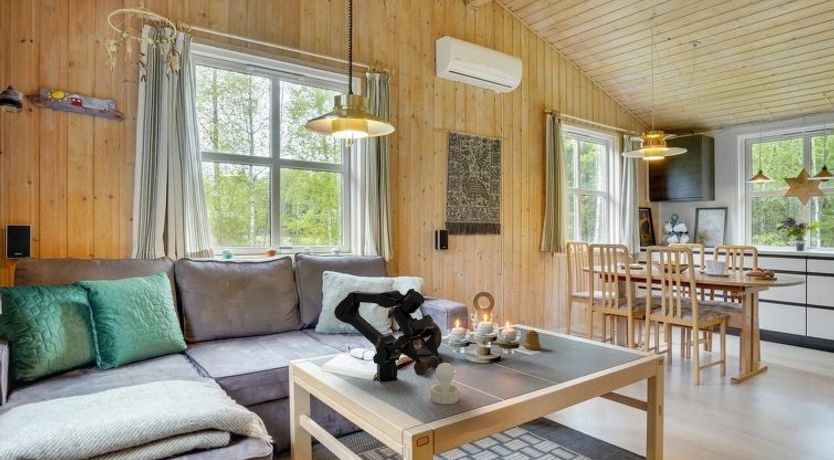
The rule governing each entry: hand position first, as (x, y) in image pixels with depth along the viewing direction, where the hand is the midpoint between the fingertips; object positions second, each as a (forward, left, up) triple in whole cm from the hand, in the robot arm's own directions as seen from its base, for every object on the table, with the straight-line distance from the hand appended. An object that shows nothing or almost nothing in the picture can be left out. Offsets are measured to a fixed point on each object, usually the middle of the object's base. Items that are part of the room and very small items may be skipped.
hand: (429, 359), depth 162 cm
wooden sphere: (+18, +40, -11) cm, 45 cm away
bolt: (+11, +21, -11) cm, 26 cm away
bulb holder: (+2, -9, -11) cm, 14 cm away
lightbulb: (+2, -8, -10) cm, 13 cm away
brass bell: (+67, +30, -11) cm, 74 cm away
